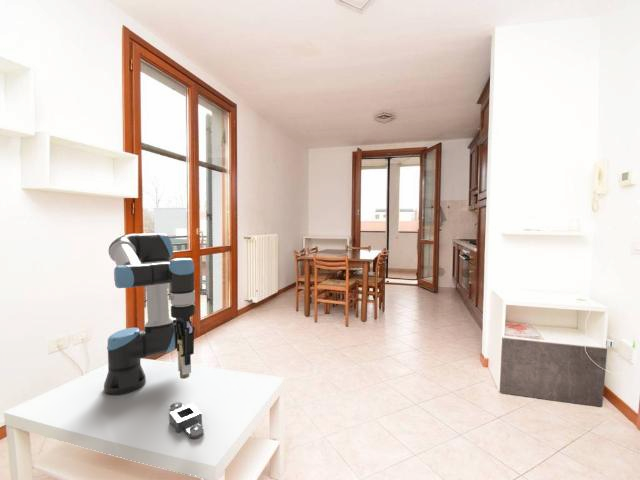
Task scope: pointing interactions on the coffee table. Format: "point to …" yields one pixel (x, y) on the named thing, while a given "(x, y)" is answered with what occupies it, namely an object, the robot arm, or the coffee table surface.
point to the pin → (181, 359)
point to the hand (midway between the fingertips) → (184, 371)
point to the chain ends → (186, 419)
